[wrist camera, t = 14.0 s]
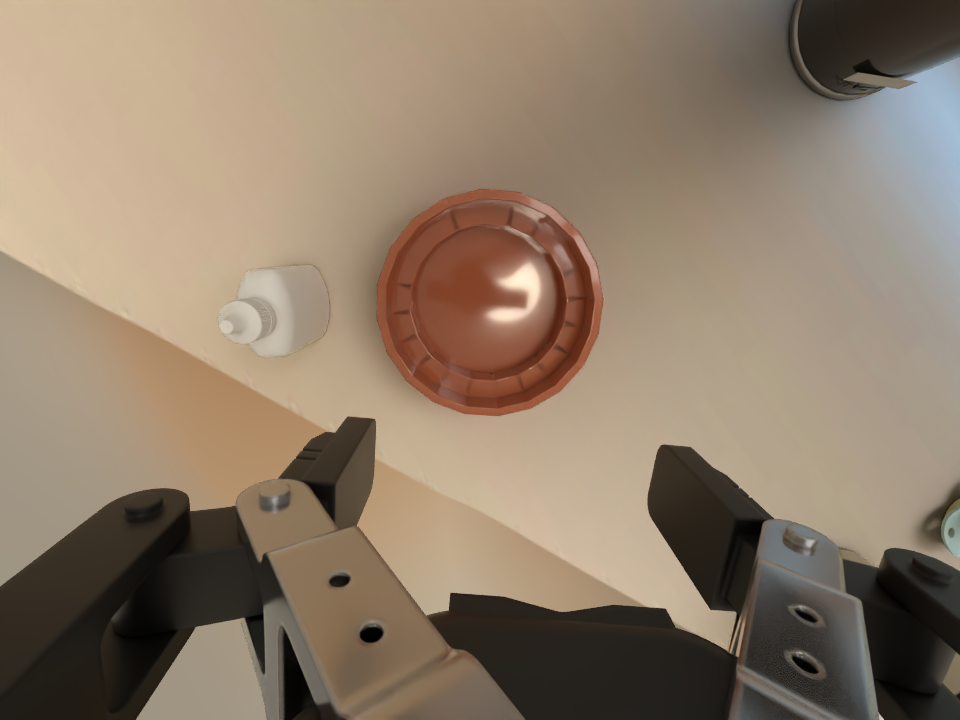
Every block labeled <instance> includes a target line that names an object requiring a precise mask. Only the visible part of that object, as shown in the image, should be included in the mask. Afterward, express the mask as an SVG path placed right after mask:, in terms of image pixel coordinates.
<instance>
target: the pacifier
mask: <svg viewBox="0 0 960 720" xmlns="http://www.w3.org/2000/svg"><path fill="white" fill-rule="evenodd" d="M941 536H942V540H943V542H944V544H945V546H946V548H947V549H948V550H949V551H950V552H951V553H952V554H953V555H955V556H956V557H958V558H960V498H959V499H958V500H956V501H955V502H954V503H953V504H952V505H951V506H950V507H949V509H948V510H947V512H946V514H945V518H944V519H943V521H942V525H941Z"/></svg>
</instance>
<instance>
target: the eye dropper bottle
mask: <svg viewBox="0 0 960 720" xmlns="http://www.w3.org/2000/svg"><path fill="white" fill-rule="evenodd" d="M329 314H330V303H329V296H328V292H327V288H326V285H325V283H324V280H323V278H322V276H321V274H320V272H319V271H318V270H317V269H316V268H315V267H314V266H311V265H296V266H282V267H269V268H258V269H252V270H249V271H246V273H245V274H244V275H243V277H242V279H241V281H240V284H239V288H238V292H237V299H236V300H235V301H231V302H229V303H227V304H225V305H224V307H222V309H221V311H220V313H219V315H218V325H219V329H220V330H221V332H222V333H223V335H224V336H225V337H226V338H228V340H230V341H232V342H234V343H237V344H238V343H239V344H248V345H249V347H250V348H251V350H252V351H253V352H254V353H255V354H256V355H257V356H259V357H262V358H279V357H285V356H288V355H290V354H292V353H294V352H296V351H298V350H300V349H302V348H303V347H305V346H307V345H309V344H311V343H312V342H314V341H316V340H318V339H319V338H321V337H322V336H323V335H324V334H325V332H326V329H327V326H328V321H329Z"/></svg>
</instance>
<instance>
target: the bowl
mask: <svg viewBox="0 0 960 720" xmlns="http://www.w3.org/2000/svg"><path fill="white" fill-rule="evenodd" d="M602 306H603V295H602V289H601V283H600V278H599V272H598V266H597V263H596V261H595V259H594V258H593V256H592V254H591V252H590V250H589V248H588V246H587V245H586V243H585V241H584V239H583V237H582V235H581V233H580V232H579V231H578V230H577V229H576V228H575V227H574V226H573V225H571V224H570V223H569V222H568V221H567V220H566V219H565V218H564V217H563V216H562V215H561V214H560V213H559V212H558V211H556V210H555V209H554V208H553V207H551V206H549V205H547V204H545V203H542V202H540V201H538V200H536V199H533V198H531V197H529V196H527V195H524V194H522V193H520V192H519V193H518V192H512V191H501V190H489V189H479V190H475V191H471V192H467V193H463V194H459V195H455V196H451V197H447V198H445V199H442V200H441V201H439V202H438V203H436V204H435V205H433V206H432V207H430V208H429V209H427V210H426V211H424V212H423V213H421V214H419V215H418V216H416V217H415V218H414V219H413V220H412V221H411V222H410V223H409V224H408V226H407V227H406V228H405V230H404V231H403V232H402V233H401V235H400V236H399V237H398V238H397V240H396V241H395V242H394V244H393V245H392V246H391V249H389V252H388V255H387V258H386V261H385V263H384V266H383V269H382V272H381V275H380V277H379V280H378V288H377V321H378V325H379V328H380V331H381V335H382V338H383V341H384V345H385V348H386V351H387V353H388V355H389V356H390V358H391V359H392V361H393V362H394V364H395V365H396V367H397V368H398V370H399V371H400V372H401V374H402V375H403V377H404V378H405V380H406V381H407V382H408V383H410V384H411V385H412V386H413V387H415V388H416V389H417V390H419V391H420V392H421V393H422V394H424V395H425V396H426V397H427V398H429V399H430V400H431V401H434V402H435V403H437V404H440V405H443V406H445V407H448V408H450V409H453V410H456V411H458V412H461V413H464V414H474V415H490V416H501V415H505V414H509V413H514V412H518V411H522V410H526V409H530V408H533V407H534V406H536V405H538V404H539V403H541V402H543V401H545V400H546V399H548V398H550V397H551V396H553V395H555V394H557V393H558V392H560V391H561V390H562V389H563V388H564V387H565V386H566V384H567V383H568V382H569V381H570V380H571V379H572V378H573V377H574V376H575V375H576V374H577V373H578V372H579V370H580V369H581V368H582V367H583V366H584V364H585V362H586V360H587V358H588V356H589V354H590V351H591V349H592V347H593V345H594V343H595V341H596V339H597V337H598V334H599V327H600V320H601V313H602Z"/></svg>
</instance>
